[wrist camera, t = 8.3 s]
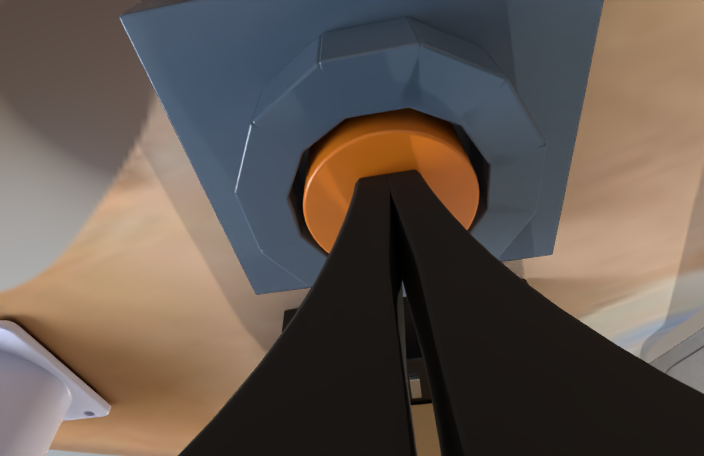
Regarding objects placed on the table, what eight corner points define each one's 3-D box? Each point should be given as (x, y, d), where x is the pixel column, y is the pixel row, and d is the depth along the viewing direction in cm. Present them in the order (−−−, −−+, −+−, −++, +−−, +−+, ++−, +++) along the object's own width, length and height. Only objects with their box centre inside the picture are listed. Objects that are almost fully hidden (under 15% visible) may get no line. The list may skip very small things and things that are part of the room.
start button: (325, 236, 12) (323, 281, 11) (288, 110, 10) (281, 148, 8) (462, 216, 12) (478, 260, 11) (462, 80, 9) (483, 114, 8)
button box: (262, 260, 16) (246, 340, 13) (145, -3, 10) (74, 42, 7) (534, 222, 15) (577, 298, 12) (582, -94, 9) (684, -79, 6)
